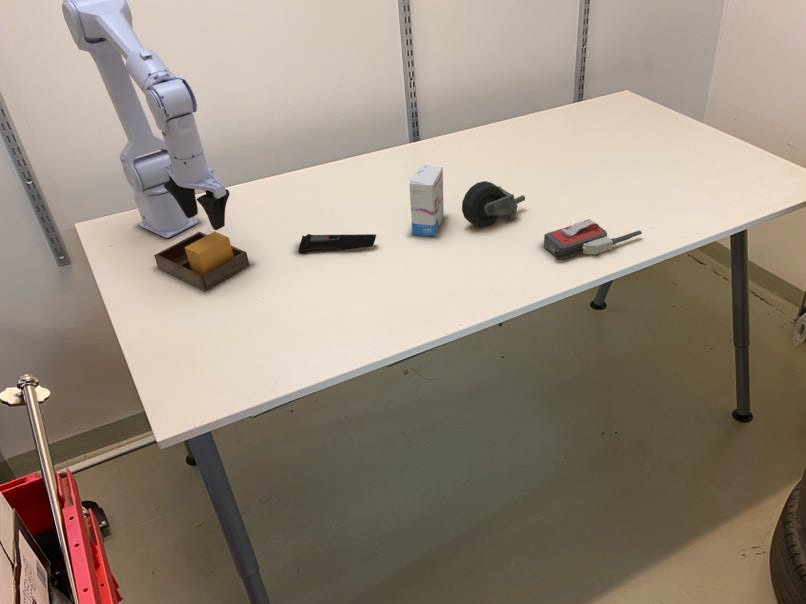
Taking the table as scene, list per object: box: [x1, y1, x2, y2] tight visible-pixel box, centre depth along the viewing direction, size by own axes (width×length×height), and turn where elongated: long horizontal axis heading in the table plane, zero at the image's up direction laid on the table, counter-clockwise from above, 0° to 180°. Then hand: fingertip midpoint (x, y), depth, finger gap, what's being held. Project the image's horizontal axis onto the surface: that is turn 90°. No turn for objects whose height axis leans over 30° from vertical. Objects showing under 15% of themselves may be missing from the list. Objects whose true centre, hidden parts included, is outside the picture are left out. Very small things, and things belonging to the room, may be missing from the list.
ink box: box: [409, 164, 445, 238], centre depth 147 cm, size 9×5×12 cm, turn 168°
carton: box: [185, 230, 234, 276], centre depth 136 cm, size 4×7×6 cm, turn 145°
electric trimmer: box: [297, 233, 377, 253], centre depth 143 cm, size 4×16×3 cm, turn 92°
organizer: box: [153, 231, 250, 292], centre depth 138 cm, size 14×11×3 cm
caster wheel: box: [461, 180, 526, 228], centre depth 149 cm, size 6×10×15 cm
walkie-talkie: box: [543, 218, 642, 260], centre depth 143 cm, size 9×4×20 cm
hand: (205, 221), depth 134 cm, fingers open, 7 cm apart
